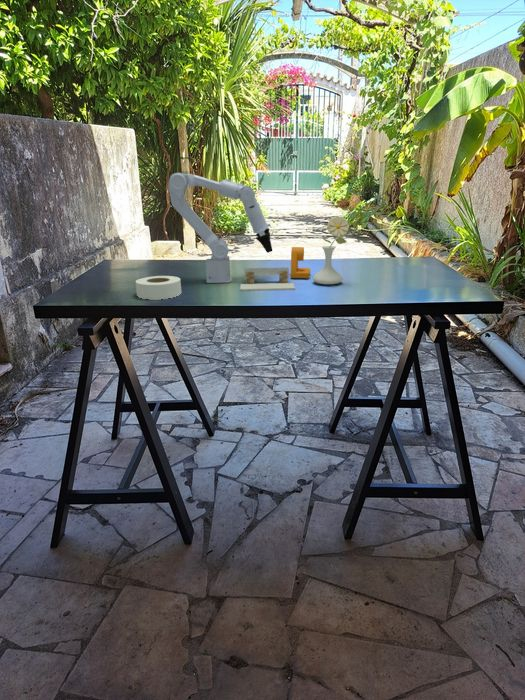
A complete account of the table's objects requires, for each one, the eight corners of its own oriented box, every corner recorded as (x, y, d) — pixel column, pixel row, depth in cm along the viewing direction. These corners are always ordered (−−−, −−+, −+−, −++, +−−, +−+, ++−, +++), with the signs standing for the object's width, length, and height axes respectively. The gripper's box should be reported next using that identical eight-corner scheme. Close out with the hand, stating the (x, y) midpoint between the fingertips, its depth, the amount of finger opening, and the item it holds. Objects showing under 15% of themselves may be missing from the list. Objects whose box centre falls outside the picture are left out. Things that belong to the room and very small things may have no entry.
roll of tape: (140, 290, 178) (139, 275, 176) (183, 289, 179) (182, 274, 177) (133, 301, 163) (131, 285, 161) (179, 299, 164) (178, 283, 162)
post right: (279, 283, 184) (279, 272, 183) (279, 280, 189) (279, 270, 187) (287, 283, 184) (287, 272, 183) (286, 280, 189) (286, 269, 187)
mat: (240, 290, 174) (240, 289, 174) (240, 285, 182) (240, 284, 181) (295, 289, 174) (295, 288, 174) (293, 284, 182) (293, 283, 182)
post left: (246, 284, 184) (245, 273, 183) (246, 281, 189) (246, 270, 187) (253, 283, 184) (253, 273, 183) (254, 281, 189) (253, 270, 187)
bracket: (308, 279, 189) (309, 249, 185) (290, 279, 191) (290, 249, 186) (310, 274, 199) (310, 245, 195) (292, 274, 200) (293, 245, 196)
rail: (244, 275, 184) (244, 269, 183) (244, 274, 186) (244, 268, 186) (288, 274, 184) (288, 268, 183) (288, 273, 187) (288, 267, 186)
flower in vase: (309, 285, 180) (310, 217, 171) (316, 279, 190) (318, 214, 181) (343, 287, 176) (346, 217, 167) (349, 281, 186) (352, 214, 177)
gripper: (266, 215, 175) (280, 249, 180) (265, 210, 189) (278, 242, 194) (248, 223, 176) (262, 256, 181) (248, 217, 190) (262, 249, 195)
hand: (269, 249), depth 188 cm, fingers open, 7 cm apart
